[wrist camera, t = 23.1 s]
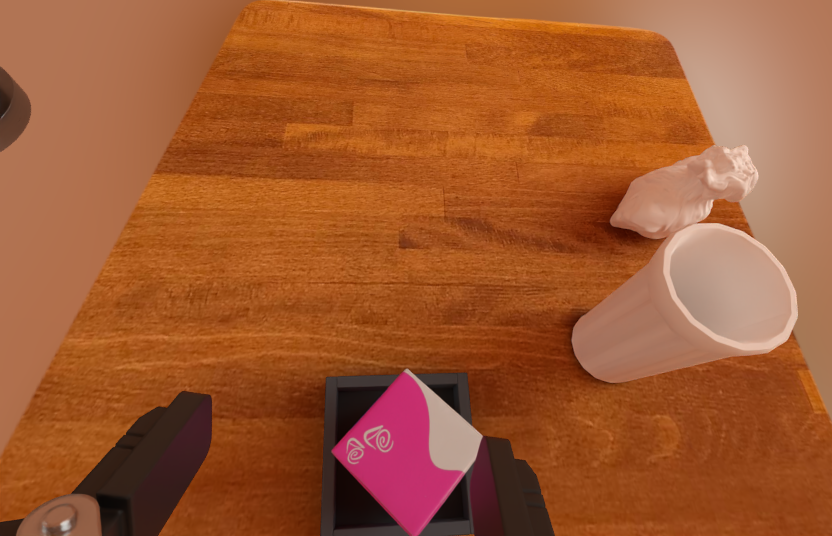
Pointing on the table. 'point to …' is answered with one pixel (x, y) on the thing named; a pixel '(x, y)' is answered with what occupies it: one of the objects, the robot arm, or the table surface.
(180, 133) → the table surface
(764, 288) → the cup
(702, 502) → the table surface
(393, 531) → the dark grey square tray
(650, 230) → the pink lumpy shape
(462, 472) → the supplement box
